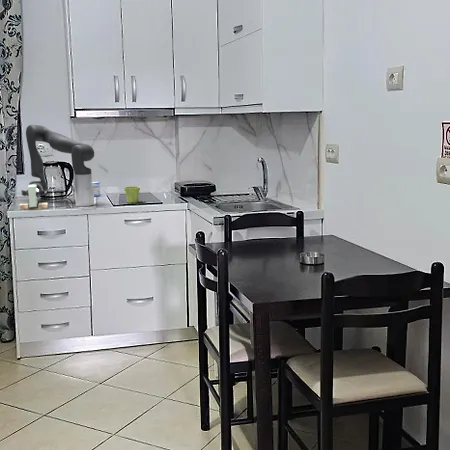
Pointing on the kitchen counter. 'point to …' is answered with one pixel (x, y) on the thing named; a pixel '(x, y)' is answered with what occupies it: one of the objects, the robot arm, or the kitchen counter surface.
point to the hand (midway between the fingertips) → (32, 194)
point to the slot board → (26, 206)
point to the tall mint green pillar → (32, 195)
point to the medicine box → (96, 188)
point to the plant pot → (132, 194)
